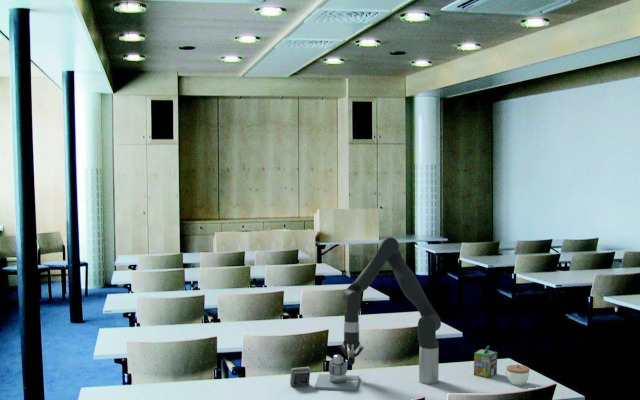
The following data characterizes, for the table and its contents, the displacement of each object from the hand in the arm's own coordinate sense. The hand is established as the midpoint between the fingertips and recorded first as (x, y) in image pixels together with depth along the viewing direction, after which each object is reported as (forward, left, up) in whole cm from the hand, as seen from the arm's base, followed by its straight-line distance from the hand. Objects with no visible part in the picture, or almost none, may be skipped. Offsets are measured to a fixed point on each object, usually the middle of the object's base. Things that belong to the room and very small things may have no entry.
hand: (351, 364), depth 356 cm
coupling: (+6, +7, -1) cm, 9 cm away
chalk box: (-67, -14, -7) cm, 69 cm away
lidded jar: (-81, -1, -7) cm, 81 cm away
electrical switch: (+23, +16, -7) cm, 29 cm away
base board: (+6, +10, -7) cm, 14 cm away
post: (+6, +10, -6) cm, 13 cm away
